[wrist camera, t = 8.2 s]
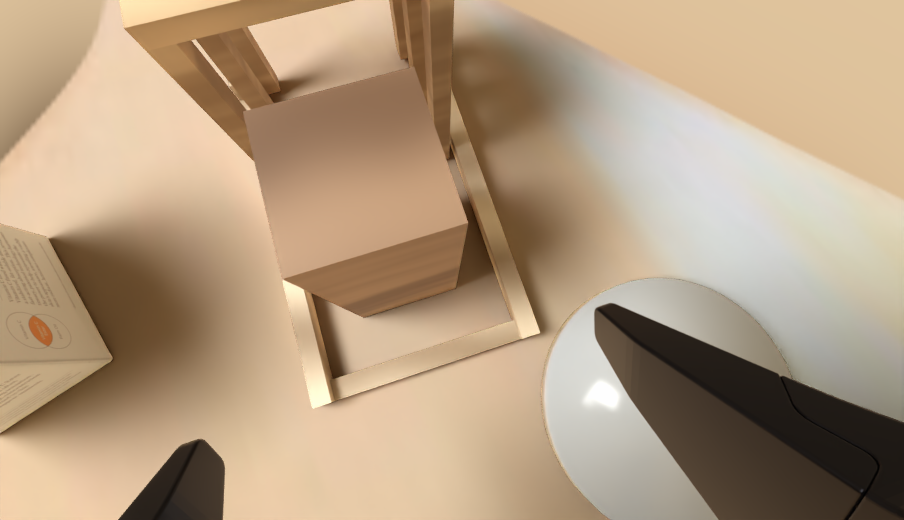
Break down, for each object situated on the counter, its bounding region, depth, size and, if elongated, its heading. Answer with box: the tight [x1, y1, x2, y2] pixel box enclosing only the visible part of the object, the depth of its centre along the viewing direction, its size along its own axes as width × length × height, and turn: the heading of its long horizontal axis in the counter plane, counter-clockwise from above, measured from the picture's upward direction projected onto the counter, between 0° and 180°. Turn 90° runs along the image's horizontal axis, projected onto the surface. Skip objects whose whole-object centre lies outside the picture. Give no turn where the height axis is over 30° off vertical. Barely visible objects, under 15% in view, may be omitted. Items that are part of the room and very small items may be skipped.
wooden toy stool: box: [119, 0, 454, 161], centre depth 16 cm, size 8×9×16 cm
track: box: [228, 81, 540, 409], centre depth 21 cm, size 18×11×2 cm, turn 18°
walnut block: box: [243, 67, 468, 318], centre depth 17 cm, size 5×5×11 cm
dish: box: [541, 278, 792, 520], centre depth 20 cm, size 12×12×1 cm
